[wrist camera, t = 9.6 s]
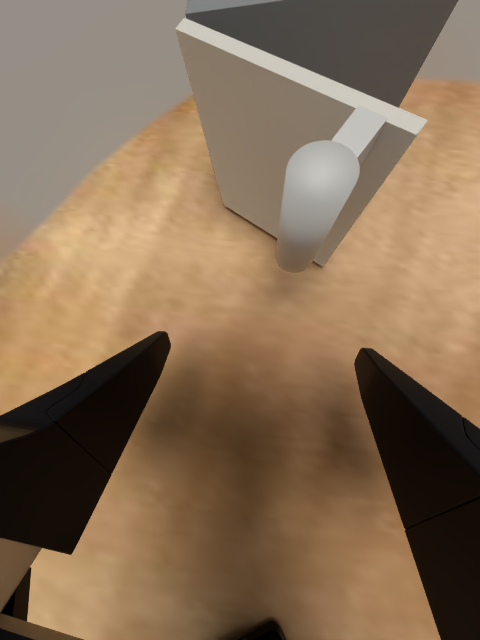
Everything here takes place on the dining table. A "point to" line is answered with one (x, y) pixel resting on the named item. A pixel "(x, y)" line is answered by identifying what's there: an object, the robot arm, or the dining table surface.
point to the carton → (336, 36)
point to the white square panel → (290, 142)
